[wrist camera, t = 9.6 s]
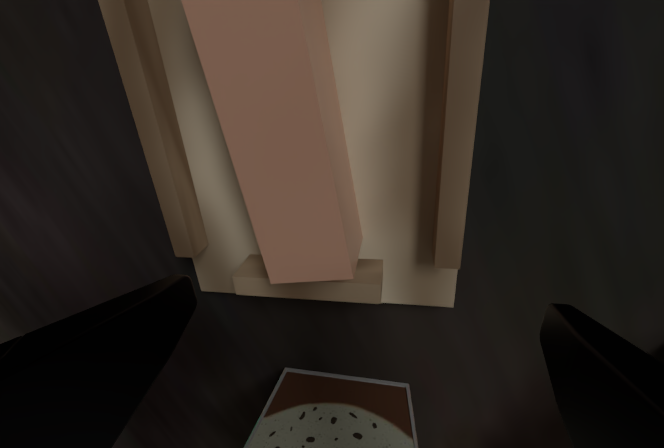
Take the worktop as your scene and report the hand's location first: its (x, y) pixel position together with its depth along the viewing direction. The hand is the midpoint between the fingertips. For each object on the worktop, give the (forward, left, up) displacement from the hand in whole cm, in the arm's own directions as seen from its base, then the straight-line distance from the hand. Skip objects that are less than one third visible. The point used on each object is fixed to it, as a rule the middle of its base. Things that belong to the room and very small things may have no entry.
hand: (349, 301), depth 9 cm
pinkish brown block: (+4, -4, -10) cm, 11 cm away
